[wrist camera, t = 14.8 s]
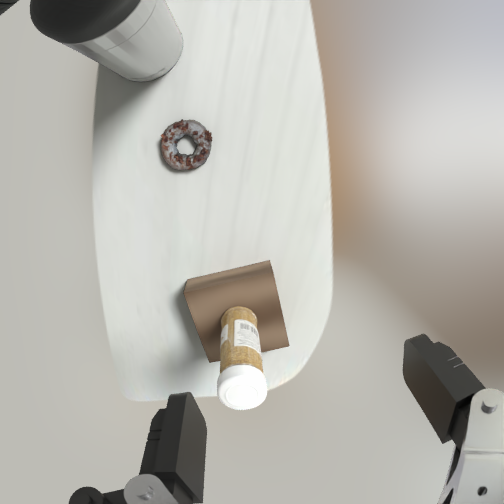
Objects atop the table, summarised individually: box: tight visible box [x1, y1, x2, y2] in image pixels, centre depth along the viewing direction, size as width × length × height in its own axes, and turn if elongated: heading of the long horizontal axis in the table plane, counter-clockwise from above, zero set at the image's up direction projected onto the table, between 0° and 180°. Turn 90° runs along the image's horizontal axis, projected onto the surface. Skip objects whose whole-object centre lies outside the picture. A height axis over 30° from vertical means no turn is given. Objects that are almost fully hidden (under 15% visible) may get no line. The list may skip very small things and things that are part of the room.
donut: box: [161, 119, 212, 170], centre depth 35 cm, size 8×8×2 cm
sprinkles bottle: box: [217, 306, 267, 410], centre depth 33 cm, size 5×5×14 cm
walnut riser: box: [183, 260, 289, 363], centre depth 41 cm, size 11×11×4 cm
